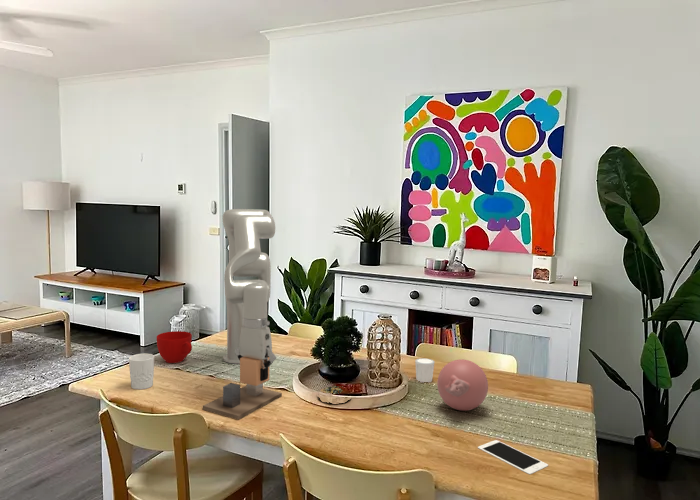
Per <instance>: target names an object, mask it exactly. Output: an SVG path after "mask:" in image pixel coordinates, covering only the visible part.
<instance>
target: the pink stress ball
mask: <svg viewBox="0 0 700 500" xmlns="http://www.w3.org/2000/svg"><path fill="white" fill-rule="evenodd" d="M488 381H489V380H488V377H487V375H486V372H485V371H484V370H483V369H482V367H480V366H479V364H477V363H475V362H474V361H471V360H469V359H465V358H464V359H462V358H460V359H459V358H458V359H455V360H452V361H449V362H448V363H446V364H445V365H444V366H443V367H442V369H441V370H440V371H439V374H438V376H437V382H436V383H437V384H436V385H437V391H438V394H439V395H440V398H441V399H442V401H443V402H444V403H445V404H446V405H447V406H449V407H450V408H452V409H454V410H458V411H461V412H462V411H463V412H464V411H471V410H474V409H476V408H478V407H479V406H481V405H482V403H484V401H485V399H486V398H487V394H488V393H489V391H488V390H489V382H488Z"/></svg>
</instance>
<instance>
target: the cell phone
mask: <svg viewBox="0 0 700 500" xmlns="http://www.w3.org/2000/svg"><path fill="white" fill-rule="evenodd" d="M477 449H479V450H481V451H482V452H485V453H487V454H488V455H490V456H492V457H494V458H495V459H498V460H500V461H502V462H504V463H506V464H508V465H510V466H512V467H513V468H515V469H517V470H520V471H521V472H523V473H525V474H527V475H533V474H534V473H535V474H536V473H537V472H539V471H541V470H542V469H545V468H548V467H549V463H546V462H544V461H542V460H540V459H538V458H536V457H533V456H532V455H529V454H527V453H525V452H523V451H521V450H518V448H514V447H512V446H511V445H508V444H507V443H504V442H501V441H500V440H497V439H495V440H491V441H489V442H487V443H484V444H482V445H479V446H477Z"/></svg>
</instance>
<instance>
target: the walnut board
mask: <svg viewBox="0 0 700 500" xmlns="http://www.w3.org/2000/svg"><path fill="white" fill-rule="evenodd" d="M282 394H283V393H282V392H280V391H276V390H275V391H274V390H271V389H268V388H263V393H261V394H259V395H257V396H252V395H248V394H247V384H246V385H244V386H242V387H240V405H238V406H236V407H234V408H230V407H226V406H223V395H222V396H220V397H218V398H216V399H214V400H212V401H210V402H209V401H208V402H207V403H205V404H203V405H202V407H201V408H202V410H203V411H206V412H210V413H213V414H217V415H220V416H223V417H224V416H225V417H228V418H231V419H235V420H237V421H239V420H241V419H242V418H245V417H246V416H248V415H250V414H252V413H254V412H256V411H258V410H260V409H261V408H263V407H265V406H267V405H268V404H270V403H272V402H274V401H276V400H278V399H280V398H282Z"/></svg>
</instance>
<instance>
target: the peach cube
mask: <svg viewBox="0 0 700 500" xmlns="http://www.w3.org/2000/svg"><path fill="white" fill-rule="evenodd" d="M267 358H268V360H269V359H270V358H269V357H267ZM264 363H265V360H264ZM261 368H262V367H261V360H257V359H252V358H247V357H242V358H240V364H239V383H242V384H246V385H247V384H250V385H254V386H258V385H260V384H262V383H263V384H264V383H266V382H268V381H270V367H268V379H266V380H264V381H260V369H261Z"/></svg>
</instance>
